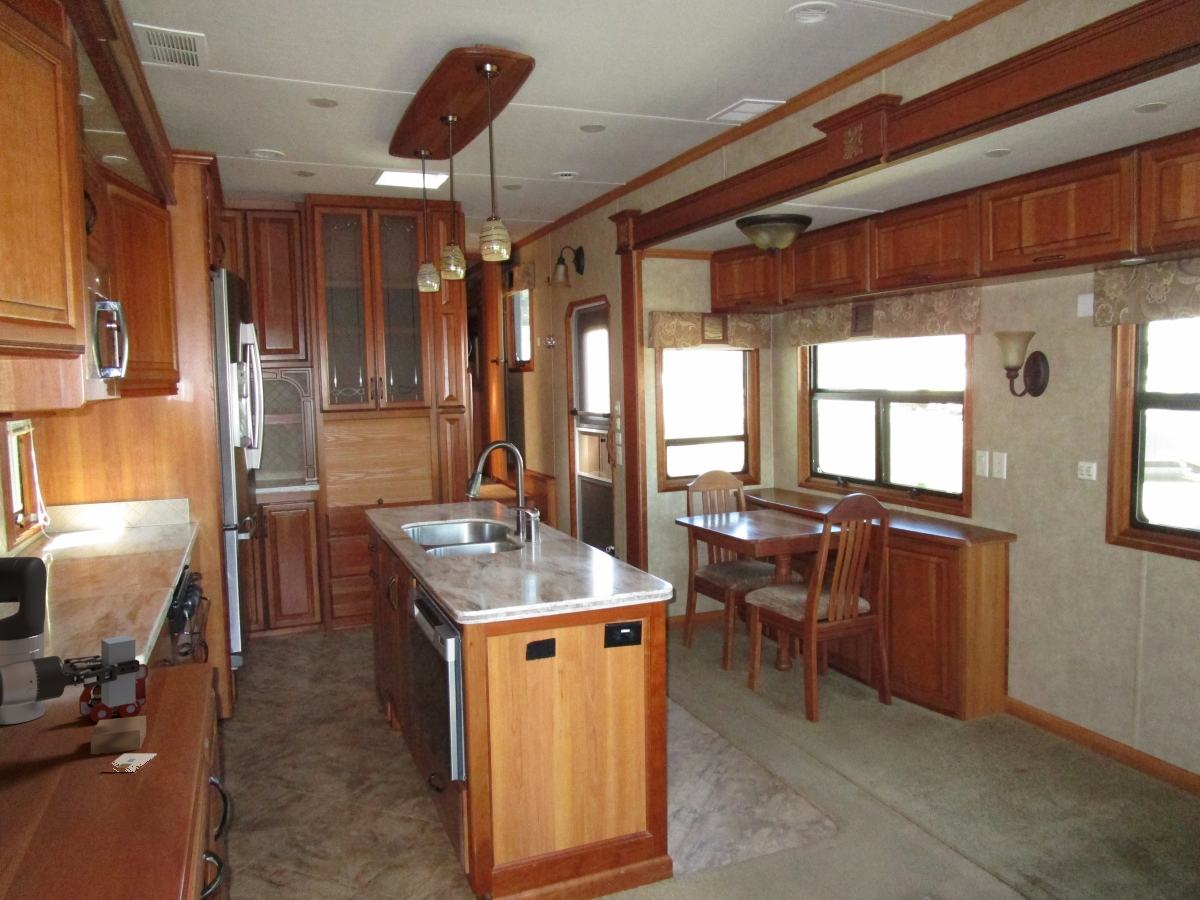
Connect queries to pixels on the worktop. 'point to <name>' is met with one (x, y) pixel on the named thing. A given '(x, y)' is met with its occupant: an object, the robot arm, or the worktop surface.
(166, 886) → the worktop surface
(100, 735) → the base block
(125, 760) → the page
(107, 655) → the pillar
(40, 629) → the robot arm
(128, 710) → the toy fire truck
